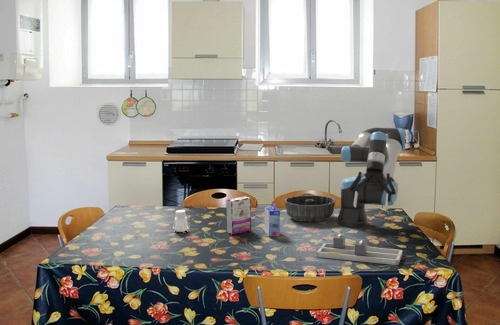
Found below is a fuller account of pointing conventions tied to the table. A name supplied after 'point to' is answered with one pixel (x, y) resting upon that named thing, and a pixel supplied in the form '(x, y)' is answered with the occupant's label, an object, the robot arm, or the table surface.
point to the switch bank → (372, 256)
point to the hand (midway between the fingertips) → (370, 207)
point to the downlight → (181, 221)
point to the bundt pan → (310, 207)
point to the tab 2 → (361, 248)
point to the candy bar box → (238, 215)
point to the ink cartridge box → (272, 221)
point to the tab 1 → (339, 242)
